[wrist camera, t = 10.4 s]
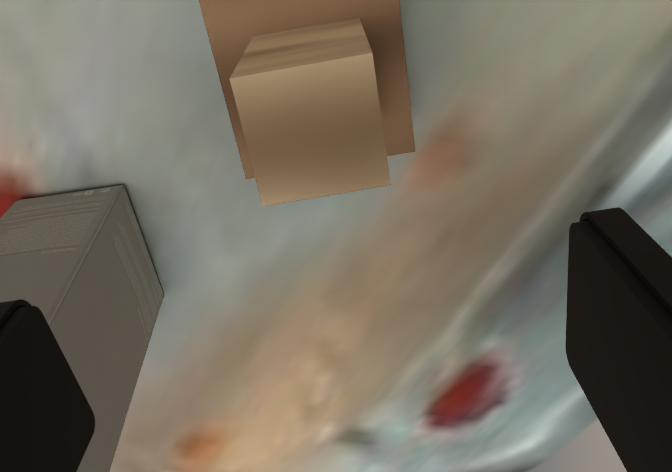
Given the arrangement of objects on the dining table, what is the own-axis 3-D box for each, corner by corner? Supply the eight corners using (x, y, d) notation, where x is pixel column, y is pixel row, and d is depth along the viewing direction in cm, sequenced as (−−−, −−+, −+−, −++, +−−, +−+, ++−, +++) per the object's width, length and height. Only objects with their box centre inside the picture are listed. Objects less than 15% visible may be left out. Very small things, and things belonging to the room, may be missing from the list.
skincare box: (18, 195, 33) (-203, 400, 19) (141, 179, 33) (7, 376, 19) (70, 314, 37) (-81, 554, 23) (180, 301, 37) (94, 536, 23)
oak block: (374, 121, 26) (390, 185, 20) (276, 138, 26) (262, 206, 20) (359, 17, 24) (372, 52, 18) (252, 36, 24) (229, 78, 18)
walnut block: (401, 117, 31) (415, 151, 27) (256, 142, 32) (246, 179, 27) (383, -45, 27) (395, -38, 23) (217, -14, 28) (198, -1, 23)
